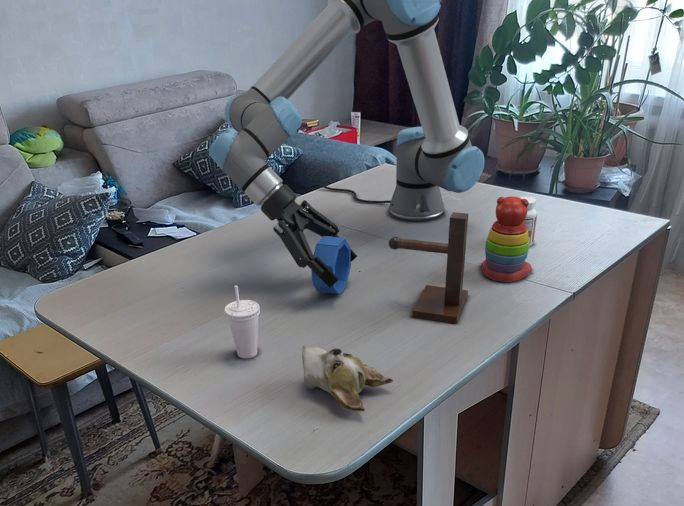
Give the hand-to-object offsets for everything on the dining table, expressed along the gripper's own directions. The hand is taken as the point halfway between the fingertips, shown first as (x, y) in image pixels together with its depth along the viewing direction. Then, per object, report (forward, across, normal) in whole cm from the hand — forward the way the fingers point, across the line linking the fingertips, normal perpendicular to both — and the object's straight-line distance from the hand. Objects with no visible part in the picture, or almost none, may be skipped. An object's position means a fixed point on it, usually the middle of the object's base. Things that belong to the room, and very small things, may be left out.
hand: (344, 271), depth 138 cm
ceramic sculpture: (+12, +35, +4) cm, 37 cm away
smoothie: (-3, +28, -10) cm, 30 cm away
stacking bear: (+26, -20, +18) cm, 37 cm away
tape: (+1, 0, -5) cm, 5 cm away
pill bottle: (+27, -38, +19) cm, 51 cm away
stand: (+16, 0, +9) cm, 18 cm away
